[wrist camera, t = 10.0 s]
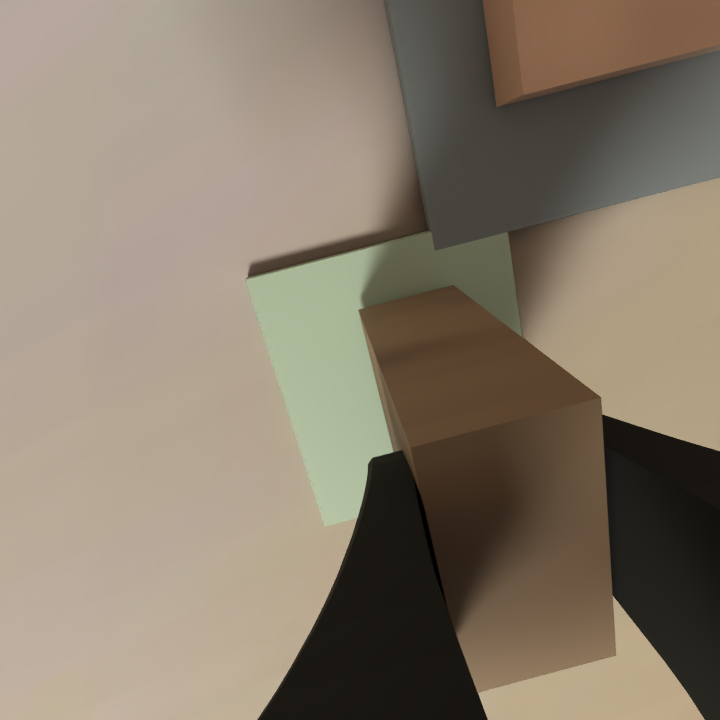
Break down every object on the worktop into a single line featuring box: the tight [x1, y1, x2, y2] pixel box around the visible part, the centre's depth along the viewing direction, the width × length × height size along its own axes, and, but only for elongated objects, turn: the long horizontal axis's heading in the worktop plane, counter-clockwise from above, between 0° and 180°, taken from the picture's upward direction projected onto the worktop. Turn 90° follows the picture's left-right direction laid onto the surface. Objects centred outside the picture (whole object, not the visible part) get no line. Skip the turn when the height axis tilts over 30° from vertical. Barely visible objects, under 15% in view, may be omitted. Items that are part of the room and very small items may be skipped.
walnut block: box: [358, 285, 616, 692], centre depth 11 cm, size 5×3×7 cm, turn 14°
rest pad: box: [245, 231, 522, 526], centre depth 14 cm, size 8×7×1 cm
